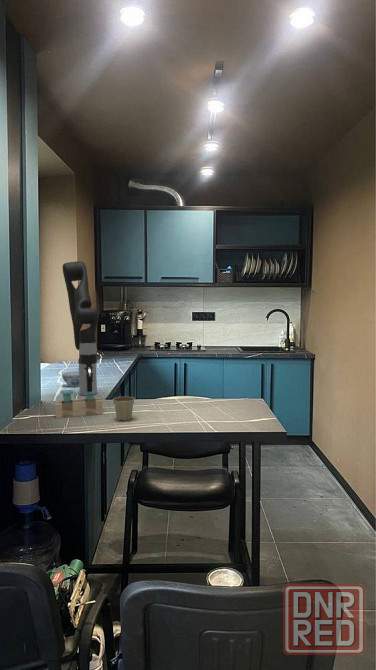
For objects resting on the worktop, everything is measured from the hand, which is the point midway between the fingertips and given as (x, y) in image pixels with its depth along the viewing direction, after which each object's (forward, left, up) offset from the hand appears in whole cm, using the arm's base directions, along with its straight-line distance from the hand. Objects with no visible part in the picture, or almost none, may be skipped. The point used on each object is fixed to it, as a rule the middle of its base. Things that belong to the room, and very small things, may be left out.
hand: (89, 391), depth 202 cm
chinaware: (-72, -4, -10) cm, 72 cm away
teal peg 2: (0, 0, -7) cm, 7 cm away
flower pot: (+15, +13, -10) cm, 23 cm away
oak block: (0, -5, -10) cm, 11 cm away
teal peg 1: (0, -10, -6) cm, 12 cm away
